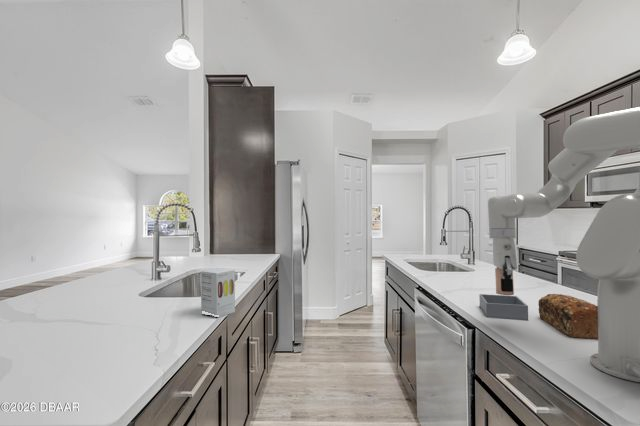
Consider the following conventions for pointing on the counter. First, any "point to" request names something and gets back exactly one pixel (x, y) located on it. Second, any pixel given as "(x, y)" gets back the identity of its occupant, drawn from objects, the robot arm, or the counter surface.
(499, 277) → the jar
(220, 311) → the supplement box
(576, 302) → the bread
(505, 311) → the bin
